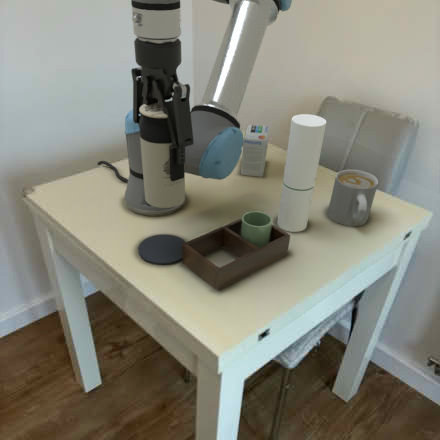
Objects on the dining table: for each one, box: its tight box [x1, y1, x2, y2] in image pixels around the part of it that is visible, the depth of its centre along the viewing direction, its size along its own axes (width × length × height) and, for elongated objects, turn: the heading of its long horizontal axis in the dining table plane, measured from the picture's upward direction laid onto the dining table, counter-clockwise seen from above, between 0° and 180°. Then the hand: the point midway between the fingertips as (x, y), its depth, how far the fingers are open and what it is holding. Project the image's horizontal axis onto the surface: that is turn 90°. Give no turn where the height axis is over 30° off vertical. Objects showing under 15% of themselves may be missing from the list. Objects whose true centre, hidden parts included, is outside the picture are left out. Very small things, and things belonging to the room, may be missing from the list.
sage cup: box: [240, 210, 273, 248], centre depth 99 cm, size 6×6×8 cm
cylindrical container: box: [277, 113, 327, 233], centre depth 102 cm, size 7×7×25 cm
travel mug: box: [139, 102, 186, 208], centre depth 85 cm, size 8×8×18 cm
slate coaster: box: [137, 233, 187, 266], centre depth 100 cm, size 11×11×1 cm
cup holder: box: [181, 217, 291, 292], centre depth 97 cm, size 12×20×5 cm, turn 131°
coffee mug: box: [327, 169, 379, 227], centre depth 110 cm, size 13×10×10 cm
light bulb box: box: [240, 124, 270, 178], centre depth 130 cm, size 11×7×11 cm, turn 172°
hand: (163, 170), depth 87 cm, fingers closed on travel mug, 8 cm apart
